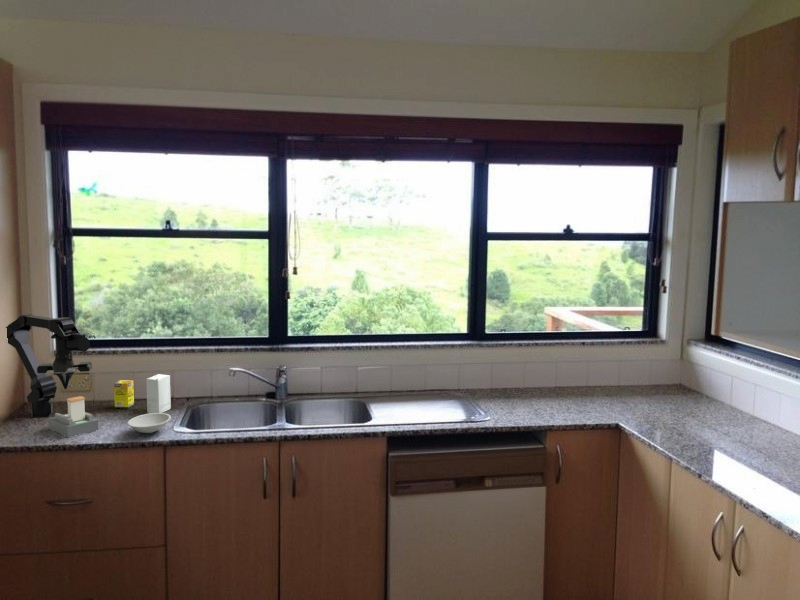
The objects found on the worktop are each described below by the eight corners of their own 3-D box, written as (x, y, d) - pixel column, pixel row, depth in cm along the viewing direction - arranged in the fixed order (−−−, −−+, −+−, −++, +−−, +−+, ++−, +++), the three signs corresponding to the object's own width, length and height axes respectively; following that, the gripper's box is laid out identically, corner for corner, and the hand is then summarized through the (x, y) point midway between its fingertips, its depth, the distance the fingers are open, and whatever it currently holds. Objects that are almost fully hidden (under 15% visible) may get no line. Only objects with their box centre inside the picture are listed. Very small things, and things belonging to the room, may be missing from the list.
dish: (158, 441, 229) (158, 427, 228) (119, 439, 229) (118, 426, 229) (178, 425, 246) (178, 413, 246) (142, 424, 247) (141, 412, 246)
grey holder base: (49, 428, 241) (48, 413, 240) (78, 421, 250) (78, 406, 249) (68, 437, 231) (67, 421, 230) (98, 430, 240) (97, 414, 239)
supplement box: (128, 409, 268) (127, 383, 267) (114, 408, 268) (113, 383, 267) (134, 405, 274) (133, 380, 273) (120, 404, 274) (119, 379, 273)
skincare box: (159, 408, 270) (158, 373, 268) (171, 409, 268) (170, 374, 266) (146, 413, 262) (145, 378, 260) (159, 414, 260) (158, 379, 258)
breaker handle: (67, 420, 237) (66, 398, 236) (81, 417, 241) (80, 396, 240) (71, 422, 235) (70, 400, 234) (85, 419, 239) (84, 397, 238)
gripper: (31, 354, 241) (33, 395, 242) (85, 353, 245) (87, 392, 247) (40, 349, 251) (42, 388, 253) (91, 347, 256) (93, 385, 258)
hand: (66, 388), depth 252 cm, fingers closed
